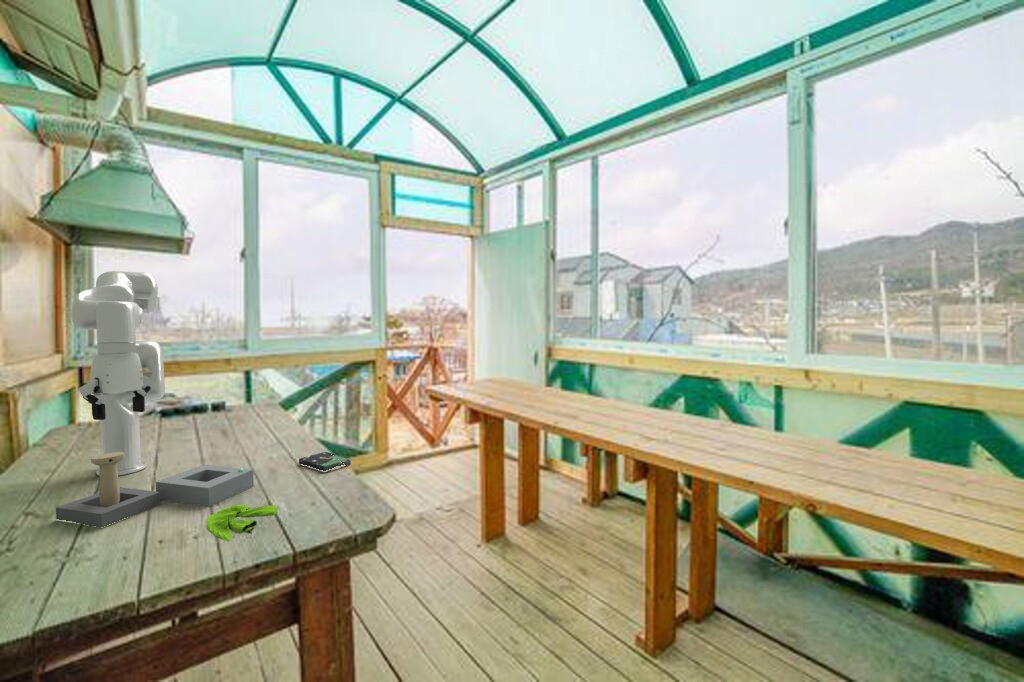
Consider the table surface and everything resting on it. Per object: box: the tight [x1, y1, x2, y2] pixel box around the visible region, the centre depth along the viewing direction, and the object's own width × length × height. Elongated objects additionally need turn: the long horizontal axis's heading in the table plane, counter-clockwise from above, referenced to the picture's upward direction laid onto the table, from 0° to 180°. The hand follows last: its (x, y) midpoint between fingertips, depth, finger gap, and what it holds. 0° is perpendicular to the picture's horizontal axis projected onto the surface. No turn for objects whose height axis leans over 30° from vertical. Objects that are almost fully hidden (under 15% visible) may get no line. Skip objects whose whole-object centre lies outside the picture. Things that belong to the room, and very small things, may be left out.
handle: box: [90, 452, 125, 508], centre depth 117 cm, size 5×6×15 cm
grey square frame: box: [55, 486, 161, 528], centre depth 117 cm, size 15×14×4 cm
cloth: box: [205, 504, 278, 542], centre depth 113 cm, size 20×22×2 cm
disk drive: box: [298, 451, 352, 471], centre depth 156 cm, size 10×3×15 cm
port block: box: [155, 464, 255, 507], centre depth 131 cm, size 18×15×6 cm
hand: (119, 415), depth 118 cm, fingers open, 9 cm apart
